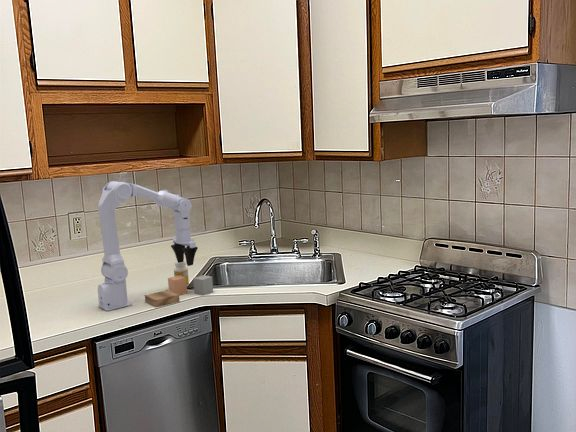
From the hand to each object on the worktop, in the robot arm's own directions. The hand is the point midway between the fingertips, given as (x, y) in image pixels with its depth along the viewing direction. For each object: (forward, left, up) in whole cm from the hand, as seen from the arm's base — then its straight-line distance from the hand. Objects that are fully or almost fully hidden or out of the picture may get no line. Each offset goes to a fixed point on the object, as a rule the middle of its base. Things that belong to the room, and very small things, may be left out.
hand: (185, 263), depth 222 cm
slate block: (+2, -9, -10) cm, 14 cm away
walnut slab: (-14, -8, -11) cm, 20 cm away
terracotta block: (-5, -2, -10) cm, 11 cm away
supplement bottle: (+1, +6, -10) cm, 12 cm away
